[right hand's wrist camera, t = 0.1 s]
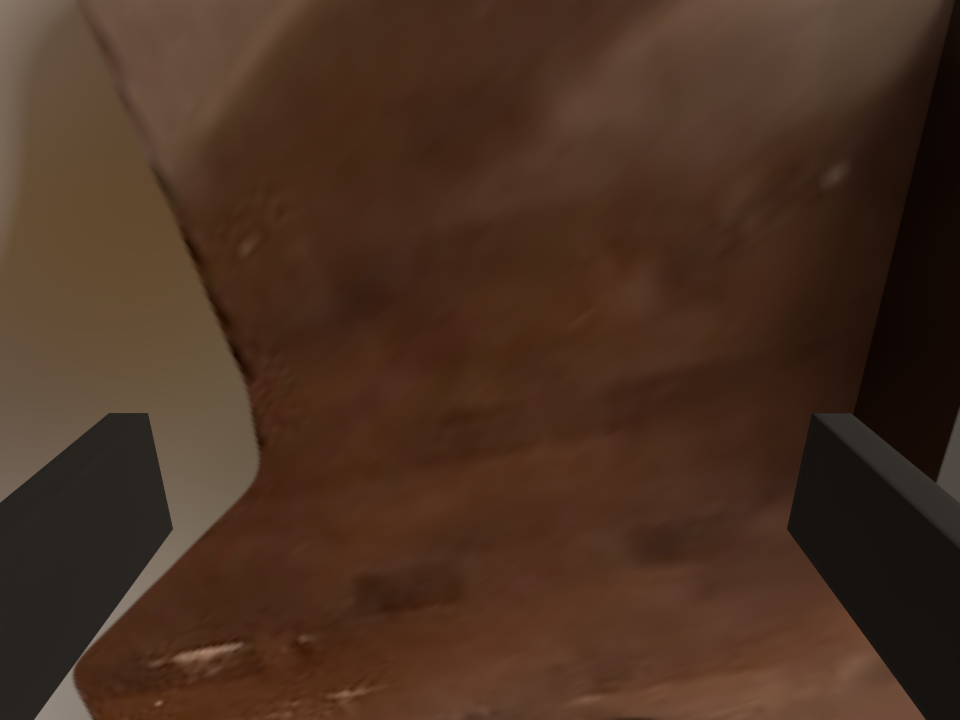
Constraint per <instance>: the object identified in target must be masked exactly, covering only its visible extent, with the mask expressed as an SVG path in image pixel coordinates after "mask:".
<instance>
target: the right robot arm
mask: <svg viewBox="0 0 960 720" xmlns="http://www.w3.org/2000/svg"><path fill="white" fill-rule="evenodd" d="M172 530H173V527H172V523H171V518H170V513H169V509H168V504H167V500H166V495H165V490H164V486H163V481H162V476H161V472H160V467H159V462H158V458H157V453H156V449H155V444H154V440H153V435H152V430H151V425H150V421H149V416H148V413H109V414H108V415H106V416H105V417H104V418H103V419H102V420H100V421H99V422H98V423H97V424H96V425H94V426H93V427H92V428H91V429H89V430H88V431H87V432H86V433H85V434H83V435H82V436H81V437H80V438H79V439H77V440H76V441H75V442H74V443H72V444H71V445H70V446H69V447H68V448H66V449H65V450H64V451H63V452H61V453H60V454H59V455H58V456H57V457H55V458H54V459H53V460H52V461H51V462H49V463H48V464H47V465H46V466H44V467H43V468H42V469H41V470H40V471H38V472H37V473H36V474H35V475H34V476H32V477H31V478H30V479H29V480H27V481H26V482H25V483H24V484H23V485H21V486H20V487H19V488H18V489H17V490H15V491H14V492H13V493H12V494H10V495H9V496H8V497H7V498H6V499H4V500H3V501H2V502H1V503H0V720H34V719H35V718H36V716H37V715H38V713H39V712H40V711H41V709H42V708H43V707H44V705H45V704H46V702H47V701H48V700H49V698H50V697H51V696H52V694H53V693H54V691H55V690H56V689H57V687H58V686H59V685H60V683H61V682H62V681H63V679H64V678H65V676H66V675H67V674H68V672H69V671H70V670H71V668H72V667H73V665H74V664H75V663H76V661H77V660H78V659H79V657H80V656H81V654H82V653H83V652H84V650H85V649H86V648H87V646H88V645H89V644H90V642H91V641H92V639H93V638H94V637H95V635H96V634H97V633H98V631H99V630H100V628H101V627H102V626H103V624H104V623H105V621H106V620H107V619H108V617H109V616H110V615H111V613H112V612H113V611H114V609H115V608H116V606H117V605H118V604H119V602H120V601H121V600H122V598H123V597H124V596H125V594H126V593H127V591H128V590H129V589H130V587H131V586H132V585H133V583H134V582H135V580H136V579H137V578H138V576H139V575H140V574H141V572H142V571H143V569H144V568H145V567H146V565H147V564H148V563H149V561H150V560H151V558H152V557H153V556H154V554H155V553H156V552H157V550H158V549H159V547H160V546H161V545H162V543H163V542H164V541H165V539H166V538H167V537H168V535H169V534H170V532H171V531H172ZM787 530H788V531H789V532H790V534H791V535H792V537H793V538H794V539H795V541H796V542H797V543H798V545H799V546H800V547H801V549H802V550H803V552H804V553H805V554H806V556H807V557H808V558H809V560H810V561H811V563H812V564H813V565H814V567H815V568H816V569H817V571H818V572H819V574H820V575H821V576H822V578H823V579H824V580H825V582H826V583H827V585H828V586H829V587H830V589H831V590H832V591H833V593H834V594H835V596H836V597H837V598H838V600H839V601H840V602H841V604H842V605H843V606H844V608H845V609H846V611H847V612H848V613H849V615H850V616H851V617H852V619H853V620H854V622H855V623H856V624H857V626H858V627H859V628H860V630H861V631H862V633H863V634H864V635H865V637H866V638H867V639H868V641H869V642H870V644H871V645H872V646H873V648H874V649H875V650H876V652H877V653H878V654H879V656H880V657H881V659H882V660H883V661H884V663H885V664H886V665H887V667H888V668H889V670H890V671H891V672H892V674H893V675H894V676H895V678H896V679H897V681H898V682H899V683H900V685H901V686H902V687H903V689H904V690H905V692H906V693H907V694H908V696H909V697H910V698H911V700H912V701H913V703H914V704H915V705H916V707H917V708H918V709H919V711H920V712H921V713H922V715H923V716H924V718H925V719H926V720H960V503H959V502H958V501H957V500H956V499H954V498H953V497H952V496H951V495H950V494H948V493H947V492H946V491H945V490H943V489H942V488H941V487H940V486H939V485H937V484H936V483H935V482H934V481H933V480H931V479H930V478H929V477H928V476H926V475H925V474H924V473H923V472H922V471H920V470H919V469H918V468H917V467H916V466H914V465H913V464H912V463H911V462H909V461H908V460H907V459H906V458H905V457H903V456H902V455H901V454H900V453H899V452H897V451H896V450H895V449H894V448H892V447H891V446H890V445H889V444H888V443H886V442H885V441H884V440H883V439H882V438H880V437H879V436H878V435H877V434H875V433H874V432H873V431H872V430H871V429H869V428H868V427H867V426H866V425H865V424H863V423H862V422H861V421H860V420H858V419H857V418H856V417H855V416H854V415H852V414H851V413H812V416H811V421H810V425H809V430H808V435H807V439H806V444H805V449H804V453H803V458H802V462H801V467H800V472H799V476H798V481H797V486H796V490H795V495H794V499H793V504H792V509H791V513H790V518H789V523H788V527H787Z"/></svg>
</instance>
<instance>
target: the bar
mask: <svg viewBox="0 0 960 720" xmlns="http://www.w3.org/2000/svg"><path fill="white" fill-rule="evenodd" d="M854 416H855V417H856V418H857V419H858V420H860V421H861V422H862V423H863V424H865V425H866V426H867V427H868V428H869V429H871V430H872V431H873V432H874V433H875V434H877V435H878V436H879V437H880V438H882V439H883V440H884V441H885V442H886V443H888V444H889V445H890V446H891V447H892V448H894V449H895V450H896V451H897V452H899V453H900V454H901V455H902V456H903V457H905V458H906V459H907V460H908V461H909V462H911V463H912V464H913V465H914V466H916V467H917V468H918V469H919V470H920V471H922V472H923V473H924V474H925V475H926V476H928V477H929V478H930V479H931V480H933V481H934V482H935V483H936V484H937V485H939V486H940V487H941V488H942V489H943V490H945V491H946V492H947V493H948V494H950V495H951V496H952V497H953V498H954V499H956V500H957V501H958V502H959V503H960V0H956V1H955V5H954V9H953V13H952V17H951V22H950V26H949V30H948V34H947V38H946V42H945V46H944V50H943V54H942V58H941V62H940V66H939V70H938V75H937V79H936V83H935V87H934V91H933V95H932V99H931V103H930V107H929V111H928V115H927V119H926V123H925V128H924V132H923V136H922V140H921V144H920V148H919V152H918V156H917V160H916V164H915V168H914V172H913V177H912V181H911V185H910V189H909V193H908V197H907V201H906V205H905V209H904V213H903V217H902V221H901V225H900V230H899V234H898V238H897V242H896V246H895V250H894V254H893V258H892V262H891V266H890V270H889V274H888V278H887V283H886V287H885V291H884V295H883V299H882V303H881V307H880V311H879V315H878V319H877V323H876V327H875V331H874V336H873V340H872V344H871V348H870V352H869V356H868V360H867V364H866V368H865V372H864V376H863V380H862V385H861V389H860V393H859V397H858V401H857V405H856V409H855V413H854Z"/></svg>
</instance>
